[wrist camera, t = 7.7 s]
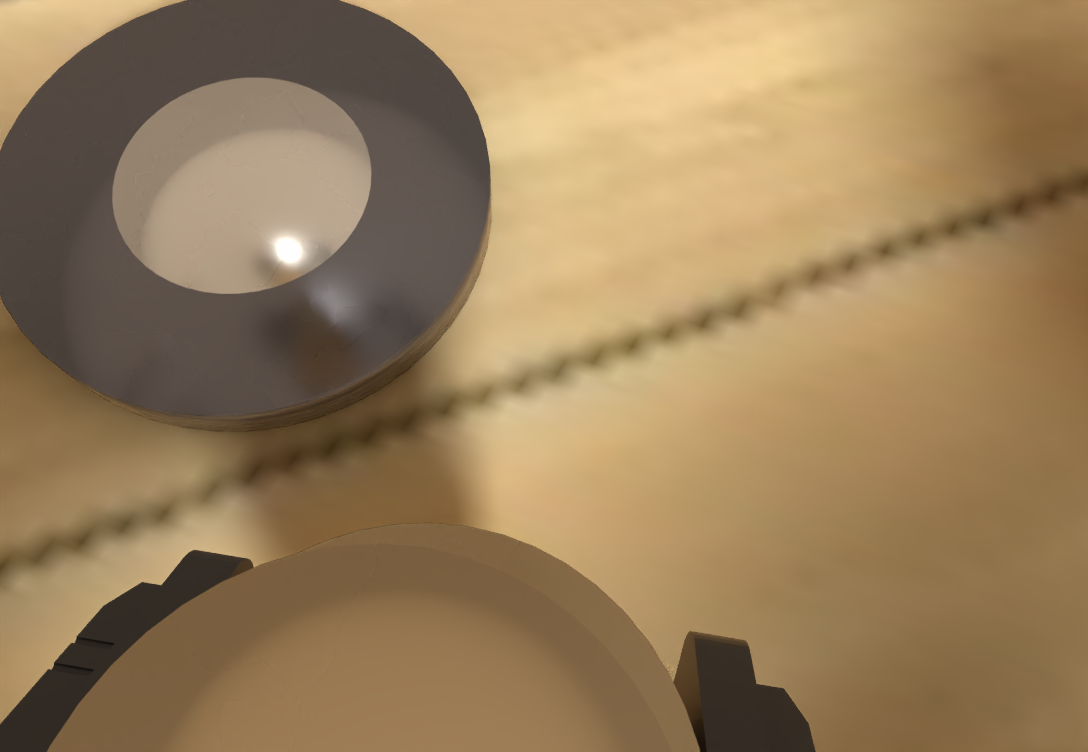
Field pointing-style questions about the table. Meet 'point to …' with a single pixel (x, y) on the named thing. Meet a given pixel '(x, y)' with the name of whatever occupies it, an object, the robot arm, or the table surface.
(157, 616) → the robot arm
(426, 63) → the turntable
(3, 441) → the table surface
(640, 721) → the weight
